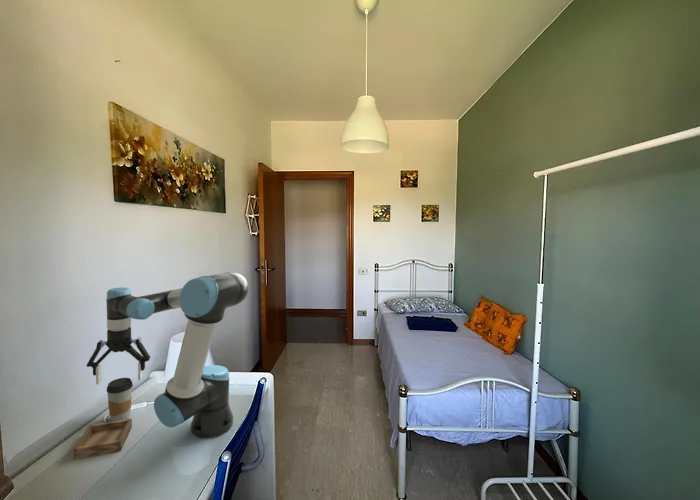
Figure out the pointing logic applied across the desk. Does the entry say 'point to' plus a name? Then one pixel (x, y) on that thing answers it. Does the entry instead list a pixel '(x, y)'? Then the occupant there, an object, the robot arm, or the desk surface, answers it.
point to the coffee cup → (119, 398)
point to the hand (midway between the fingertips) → (119, 380)
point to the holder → (103, 438)
